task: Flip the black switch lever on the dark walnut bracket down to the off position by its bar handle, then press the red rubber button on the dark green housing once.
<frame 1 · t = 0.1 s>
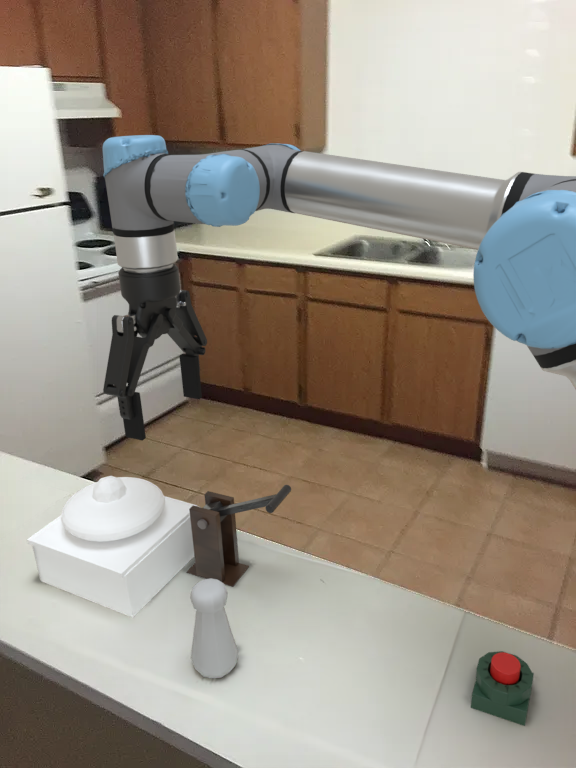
hand: (166, 416, 93), 25 cm above the countertop, tool pointing down, fingers open, 13 cm apart
lever: (242, 506, 93), point 13 cm above the countertop, hinge at 26.0°
white lidded container: (124, 570, 102), on the countertop
button: (505, 668, 77), point 4 cm above the countertop, slide at 0.1 cm
button box: (501, 697, 78), on the countertop
salt shaker: (216, 670, 84), on the countertop
bracket: (218, 575, 100), on the countertop
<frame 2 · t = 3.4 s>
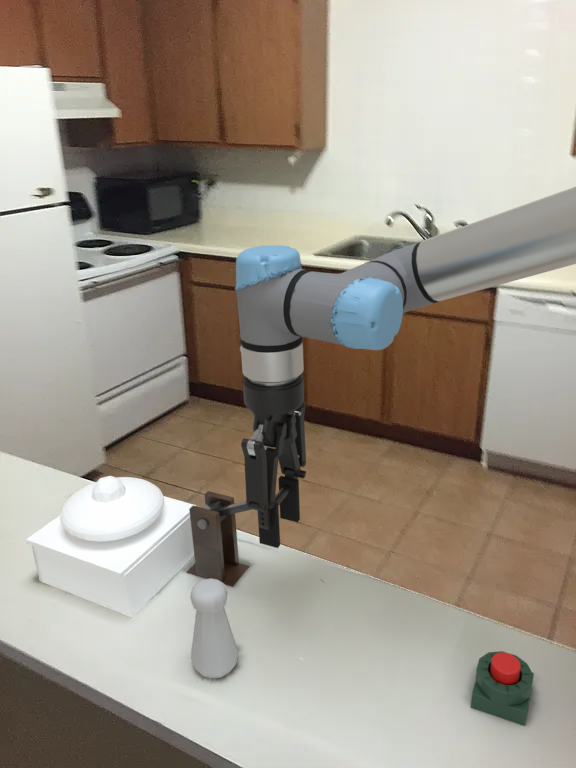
hand: (280, 530, 91), 11 cm above the countertop, tool pointing down, fingers closed on lever, 5 cm apart
lever: (242, 506, 93), point 13 cm above the countertop, hinge at 26.0°, touching gripper
everything else where it was.
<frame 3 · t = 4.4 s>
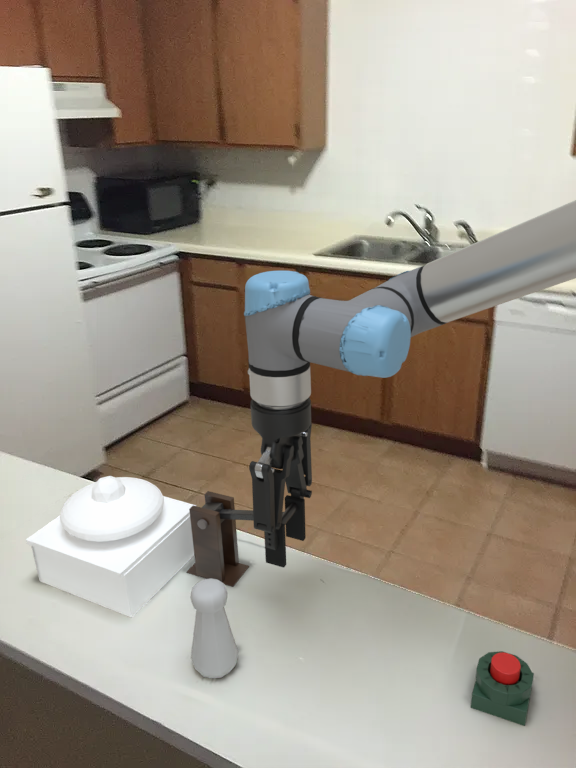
hand: (286, 549, 92), 8 cm above the countertop, tool pointing down, fingers closed on lever, 5 cm apart
lever: (245, 515, 93), point 12 cm above the countertop, hinge at 12.3°, touching gripper
everything else where it was.
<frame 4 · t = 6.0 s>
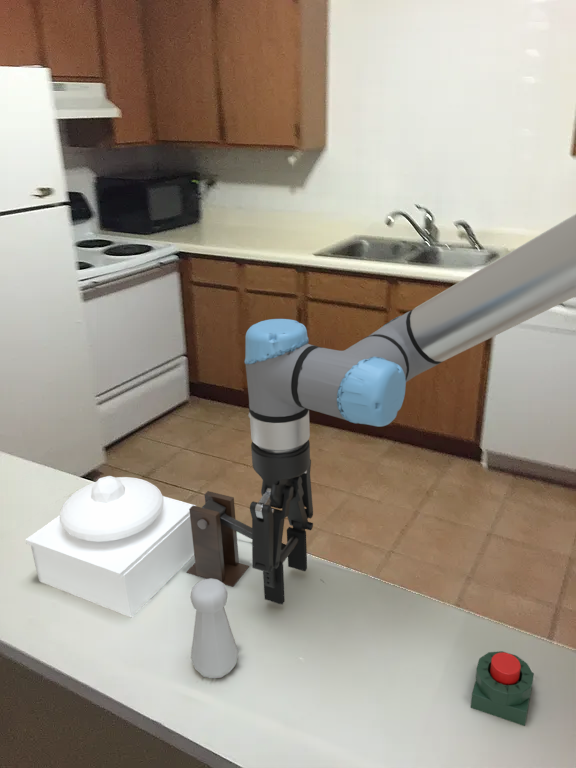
hand: (286, 583, 94), 2 cm above the countertop, tool pointing down, fingers open, 7 cm apart
lever: (246, 530, 94), point 10 cm above the countertop, hinge at -14.8°
everything else where it was.
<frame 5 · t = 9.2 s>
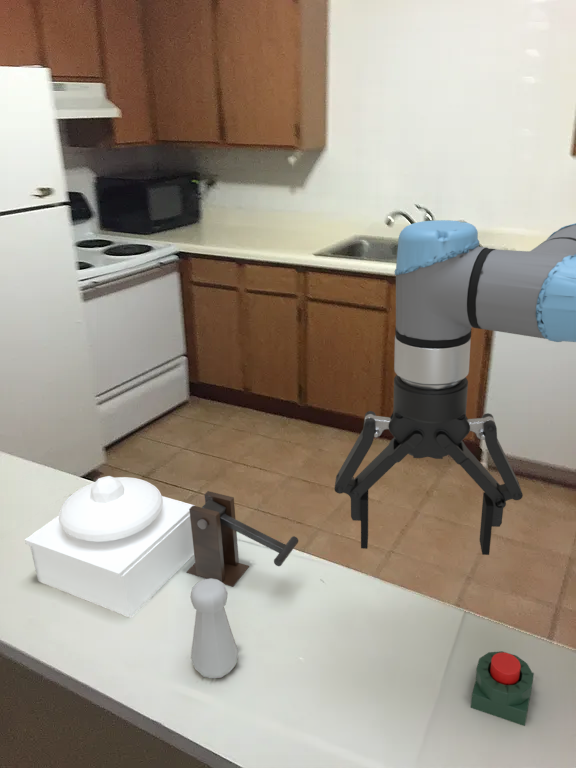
hand: (423, 544, 77), 17 cm above the countertop, tool pointing down, fingers open, 13 cm apart
nothing on the countertop moved.
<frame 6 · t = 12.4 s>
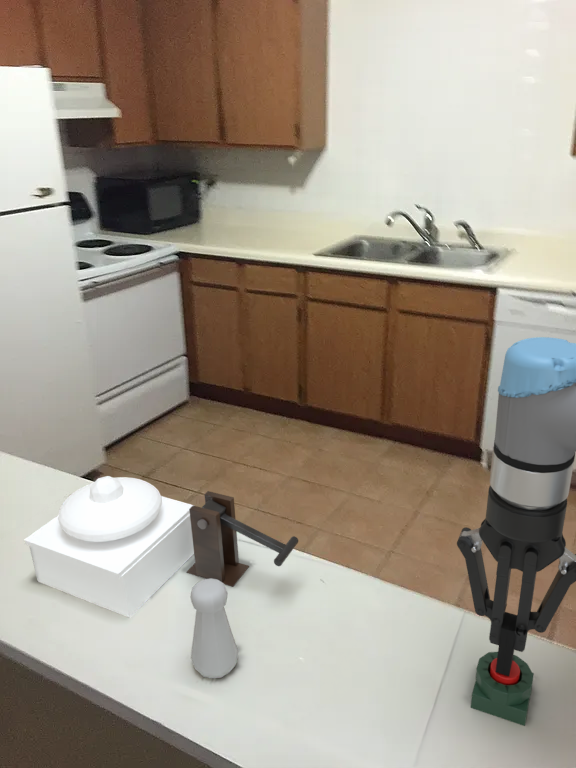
hand: (504, 665, 76), 5 cm above the countertop, tool pointing down, fingers closed
button: (504, 673, 77), point 4 cm above the countertop, slide at -0.6 cm, touching gripper
everything else where it was.
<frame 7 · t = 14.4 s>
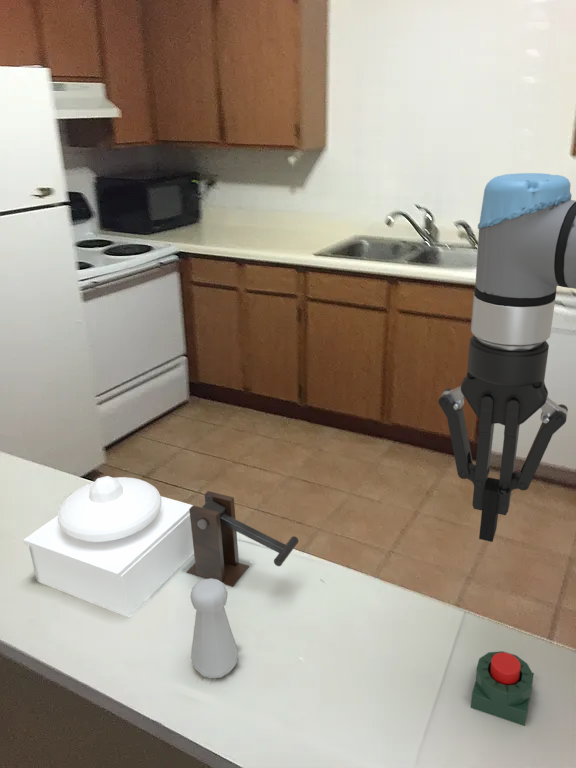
hand: (487, 533, 76), 19 cm above the countertop, tool pointing down, fingers closed
button: (505, 668, 77), point 4 cm above the countertop, slide at 0.1 cm
everything else where it was.
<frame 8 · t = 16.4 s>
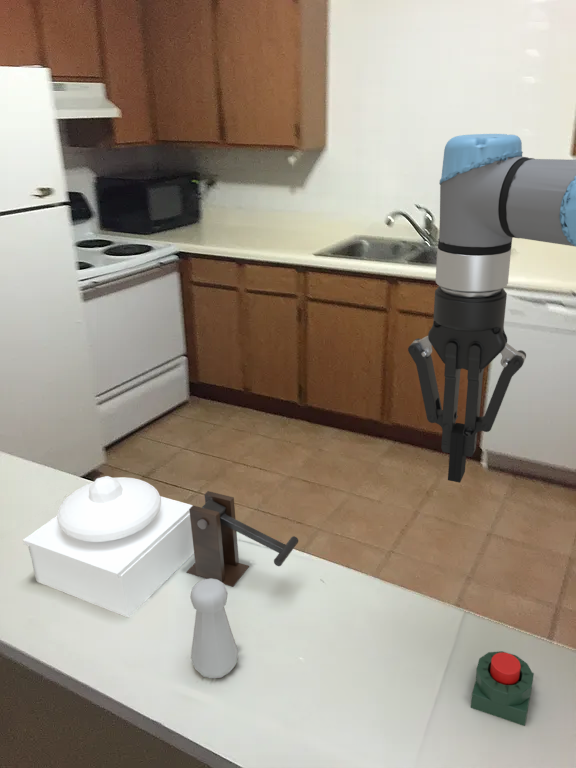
hand: (456, 475, 81), 22 cm above the countertop, tool pointing down, fingers closed
nothing on the countertop moved.
at the end: lever at -15° (first picture: +26°); button pushed in 1.0 cm at the most during the clip, back to where it started at the end; button slide at 0.1 cm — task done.
